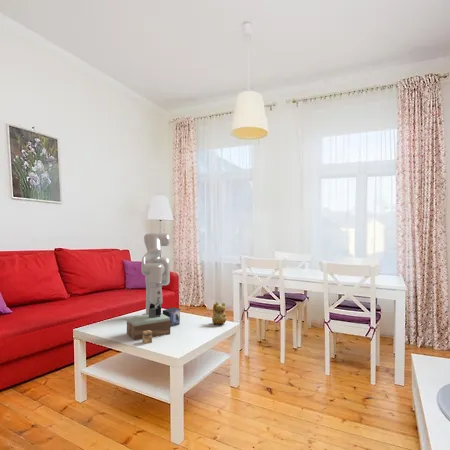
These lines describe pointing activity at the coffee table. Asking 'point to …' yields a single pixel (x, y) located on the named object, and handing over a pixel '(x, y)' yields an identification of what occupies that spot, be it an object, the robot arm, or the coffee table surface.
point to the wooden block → (147, 336)
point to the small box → (173, 316)
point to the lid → (148, 318)
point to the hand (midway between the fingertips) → (155, 313)
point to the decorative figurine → (219, 313)
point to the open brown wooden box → (156, 329)
